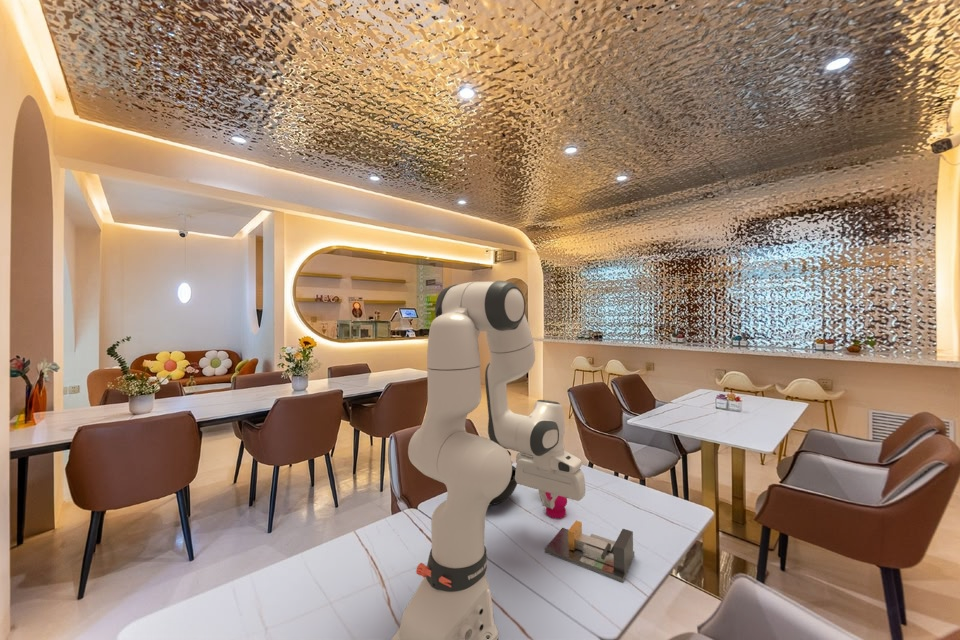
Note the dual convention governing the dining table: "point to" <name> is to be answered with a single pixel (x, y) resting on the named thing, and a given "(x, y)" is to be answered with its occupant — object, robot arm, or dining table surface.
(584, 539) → the plunger
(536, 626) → the dining table surface
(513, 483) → the coal bowl
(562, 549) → the bench
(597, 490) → the dining table surface
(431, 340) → the robot arm
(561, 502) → the pepper mill
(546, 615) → the dining table surface
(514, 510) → the dining table surface
